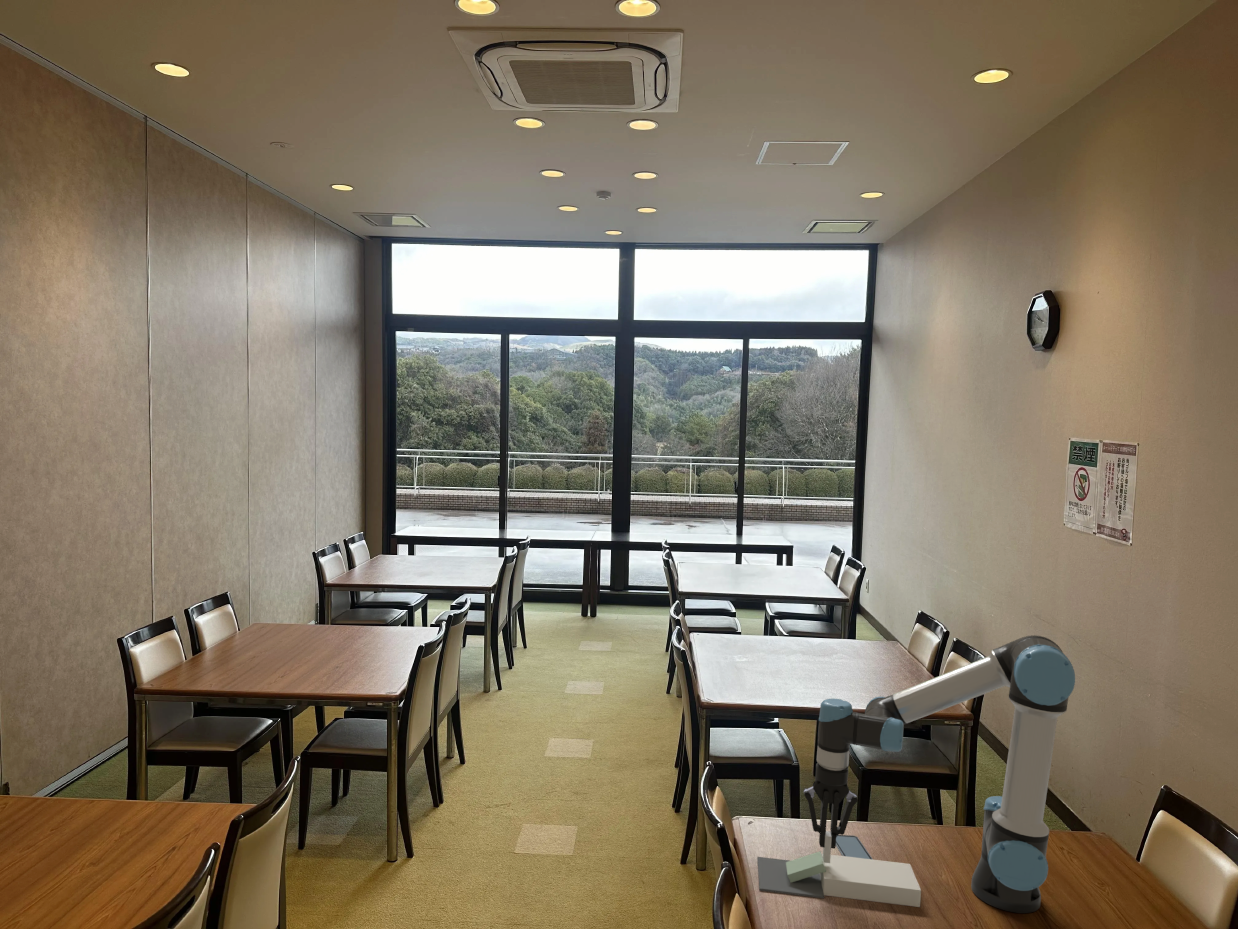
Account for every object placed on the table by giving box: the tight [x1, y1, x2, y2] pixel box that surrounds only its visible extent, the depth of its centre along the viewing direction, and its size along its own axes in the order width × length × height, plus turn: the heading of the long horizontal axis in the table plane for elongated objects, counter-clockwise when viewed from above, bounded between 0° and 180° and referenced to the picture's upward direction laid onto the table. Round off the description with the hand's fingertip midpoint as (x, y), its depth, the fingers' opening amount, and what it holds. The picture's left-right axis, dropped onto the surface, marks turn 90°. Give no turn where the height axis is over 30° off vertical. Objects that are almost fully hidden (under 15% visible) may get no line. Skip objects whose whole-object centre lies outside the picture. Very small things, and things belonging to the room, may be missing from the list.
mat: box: [757, 856, 825, 899], centre depth 200 cm, size 15×15×1 cm
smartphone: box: [835, 834, 873, 859], centre depth 215 cm, size 7×1×15 cm
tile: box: [786, 850, 826, 883], centre depth 199 cm, size 9×6×2 cm, turn 83°
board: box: [820, 852, 922, 908], centre depth 197 cm, size 22×12×4 cm, turn 82°
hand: (826, 860), depth 198 cm, fingers closed
